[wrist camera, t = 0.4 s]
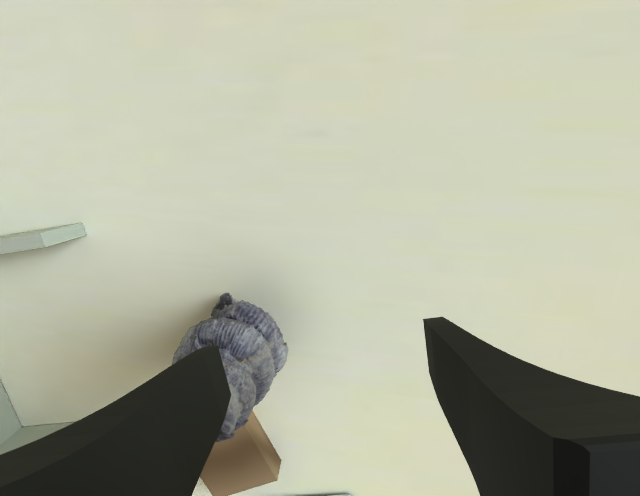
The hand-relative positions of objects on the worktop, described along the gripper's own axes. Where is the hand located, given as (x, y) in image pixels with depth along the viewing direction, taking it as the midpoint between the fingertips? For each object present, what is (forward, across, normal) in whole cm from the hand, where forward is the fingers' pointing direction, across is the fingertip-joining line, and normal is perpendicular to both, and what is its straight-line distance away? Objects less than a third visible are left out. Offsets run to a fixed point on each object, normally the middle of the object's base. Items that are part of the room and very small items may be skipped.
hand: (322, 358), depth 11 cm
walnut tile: (+10, +9, +12) cm, 18 cm away
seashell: (+10, +5, +2) cm, 11 cm away
